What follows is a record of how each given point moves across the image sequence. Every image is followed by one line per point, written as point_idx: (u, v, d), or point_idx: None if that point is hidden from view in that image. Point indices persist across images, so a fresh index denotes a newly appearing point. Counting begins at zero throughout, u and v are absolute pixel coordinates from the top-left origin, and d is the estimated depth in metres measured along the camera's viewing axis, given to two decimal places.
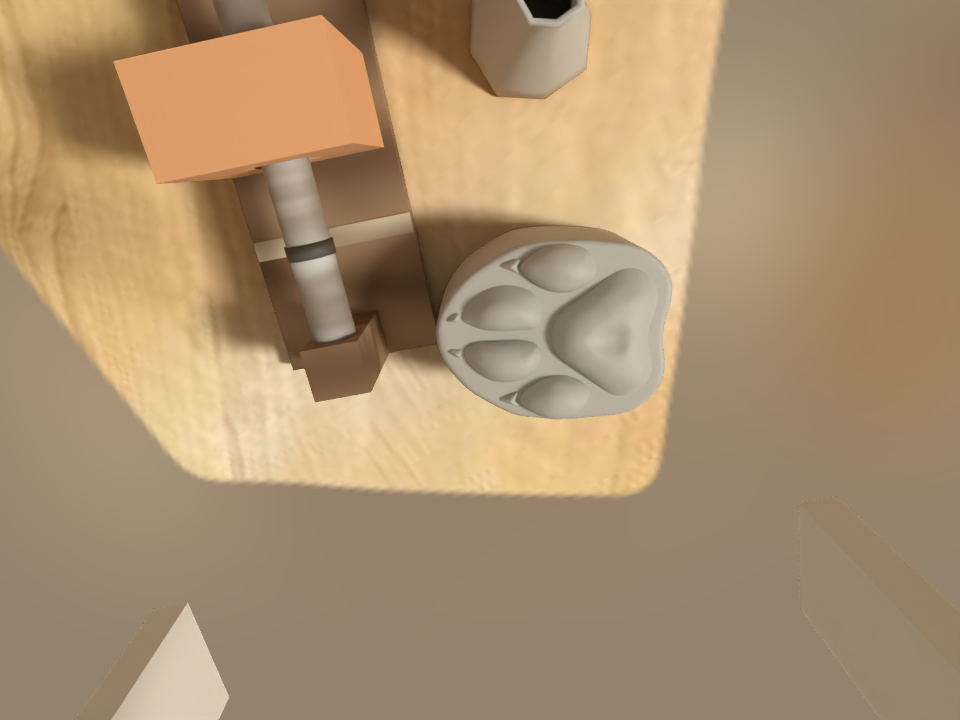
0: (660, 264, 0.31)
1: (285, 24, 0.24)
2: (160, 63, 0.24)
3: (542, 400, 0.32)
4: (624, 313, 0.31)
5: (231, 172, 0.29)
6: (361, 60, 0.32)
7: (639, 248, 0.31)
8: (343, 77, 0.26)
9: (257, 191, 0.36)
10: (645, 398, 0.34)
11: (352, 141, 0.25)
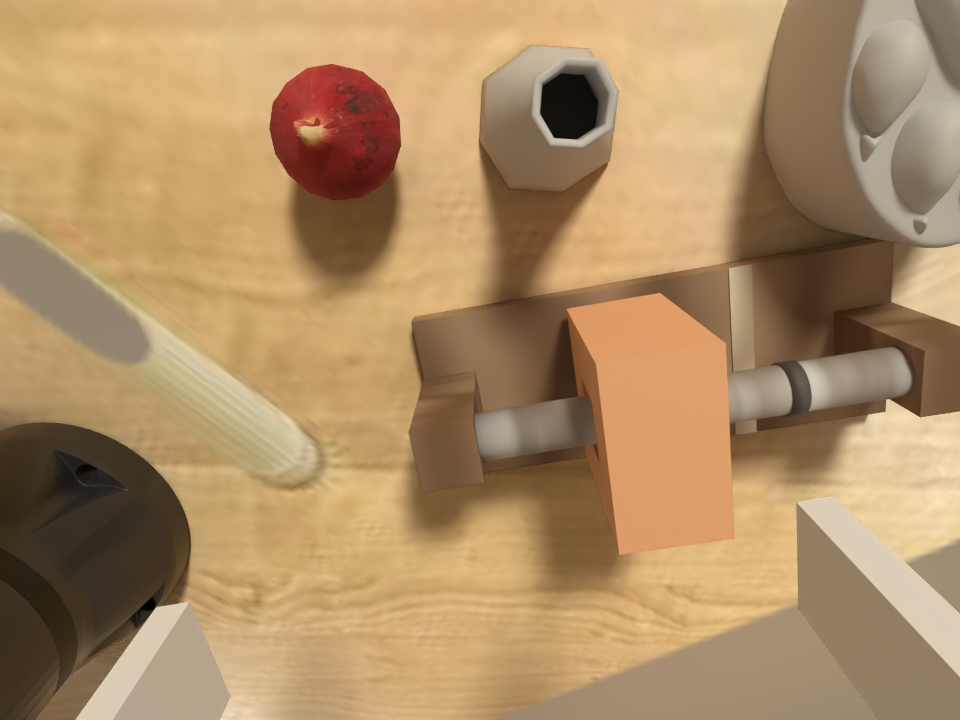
0: None
1: (601, 400, 0.23)
2: (625, 516, 0.25)
3: None
4: None
5: None
6: (578, 311, 0.30)
7: None
8: (642, 343, 0.24)
9: None
10: None
11: (723, 343, 0.23)
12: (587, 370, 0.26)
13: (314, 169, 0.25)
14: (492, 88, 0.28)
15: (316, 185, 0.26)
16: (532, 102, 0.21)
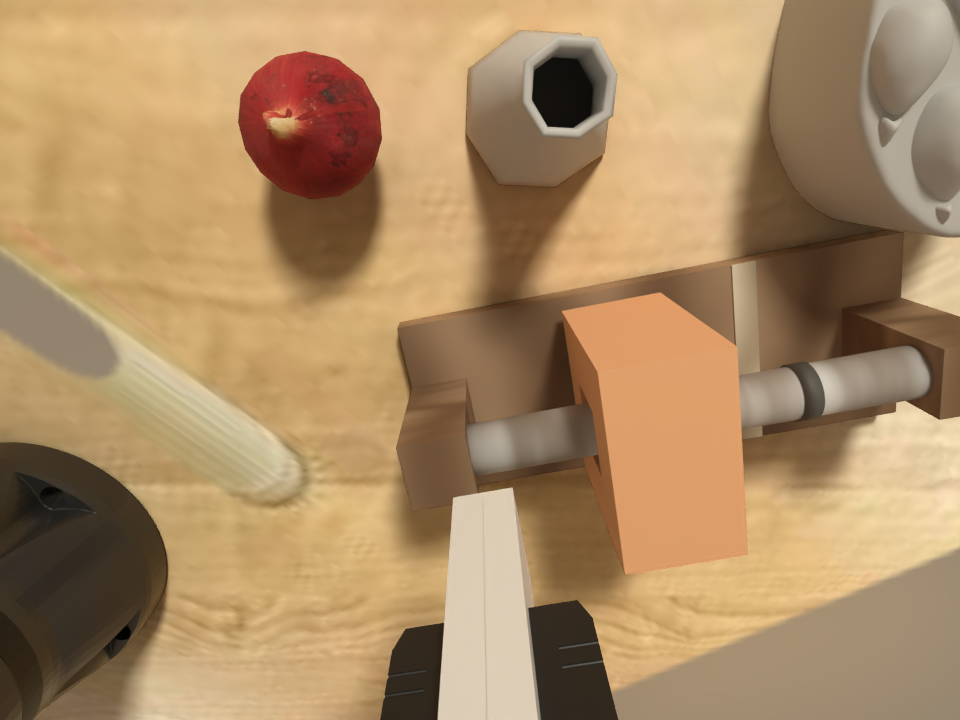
0: None
1: (604, 410, 0.22)
2: (631, 534, 0.23)
3: None
4: None
5: None
6: (575, 313, 0.29)
7: None
8: (646, 348, 0.22)
9: None
10: None
11: (734, 347, 0.21)
12: (587, 377, 0.24)
13: (287, 165, 0.23)
14: (479, 77, 0.26)
15: (290, 183, 0.24)
16: (523, 87, 0.19)
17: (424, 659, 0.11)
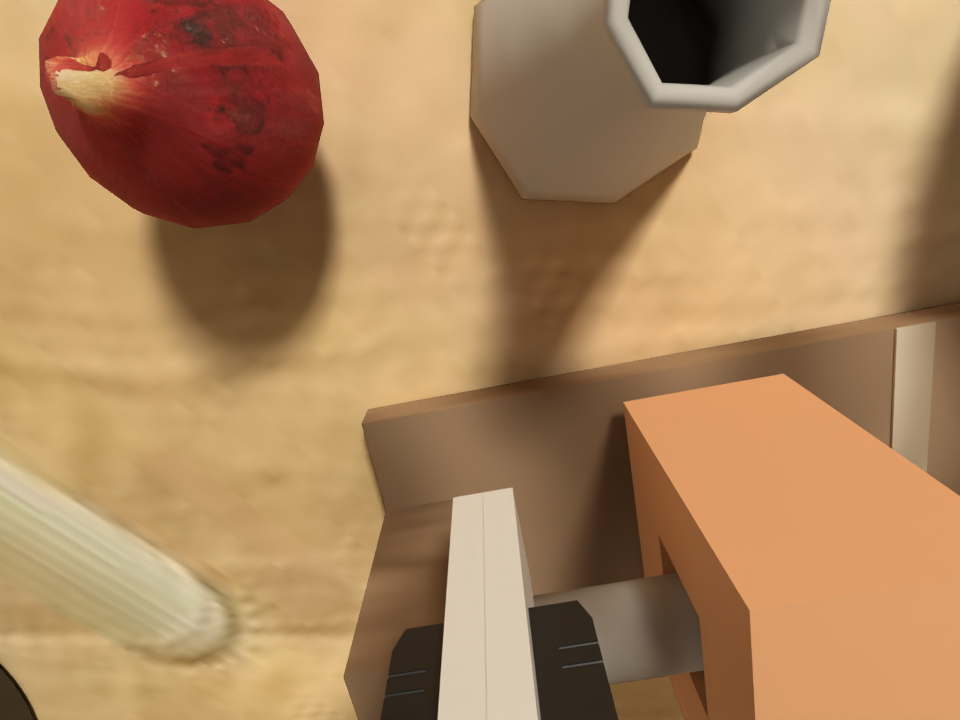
0: None
1: (755, 677, 0.10)
2: None
3: None
4: None
5: None
6: (648, 411, 0.17)
7: None
8: (828, 535, 0.11)
9: None
10: None
11: None
12: (692, 560, 0.13)
13: (126, 170, 0.12)
14: (492, 16, 0.15)
15: (144, 203, 0.13)
16: None
17: (424, 659, 0.11)
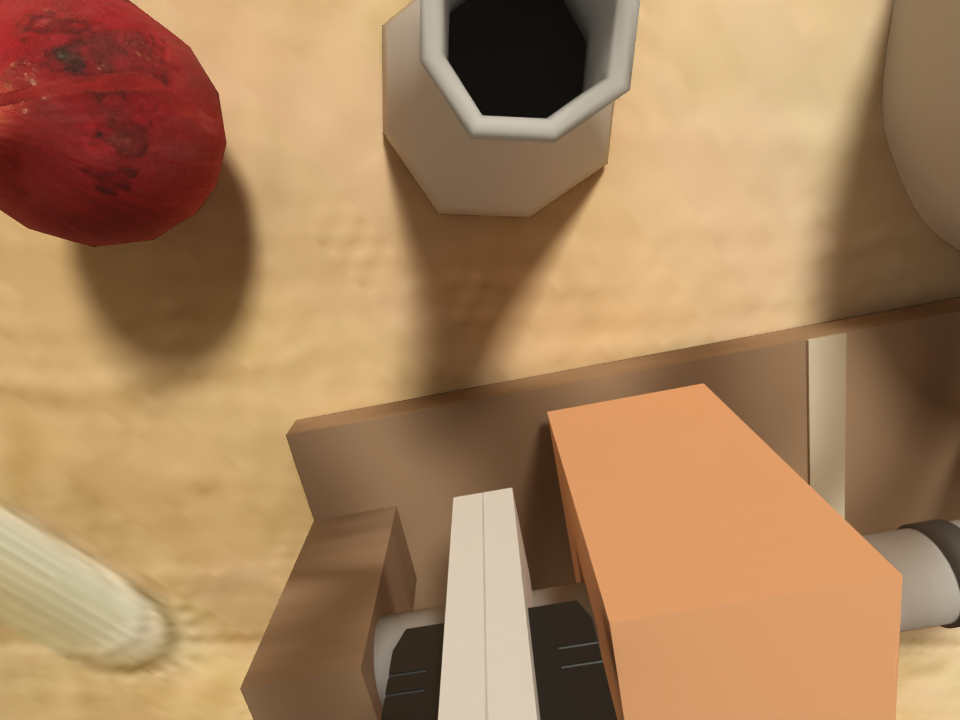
0: None
1: (622, 688, 0.11)
2: None
3: None
4: None
5: None
6: (568, 422, 0.18)
7: None
8: (702, 547, 0.11)
9: None
10: None
11: (896, 575, 0.10)
12: (587, 571, 0.13)
13: (7, 193, 0.12)
14: (394, 37, 0.16)
15: (35, 223, 0.13)
16: (421, 23, 0.08)
17: (424, 659, 0.11)
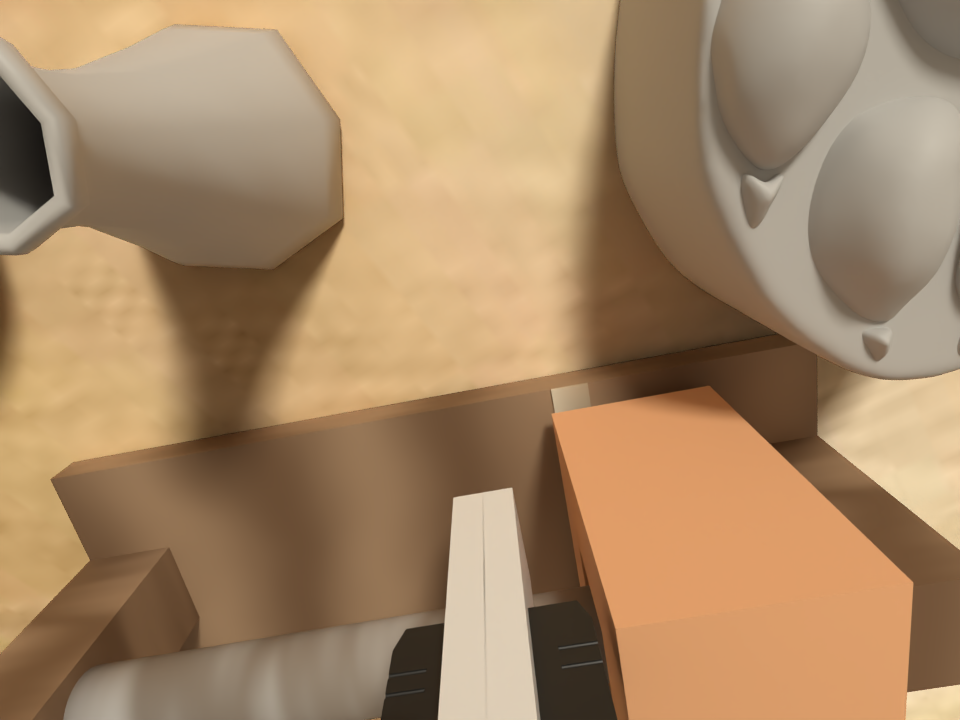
0: None
1: (627, 694, 0.11)
2: None
3: None
4: None
5: None
6: (572, 424, 0.18)
7: None
8: (709, 552, 0.11)
9: None
10: None
11: (907, 582, 0.10)
12: (592, 575, 0.13)
13: None
14: None
15: None
16: None
17: (424, 659, 0.11)
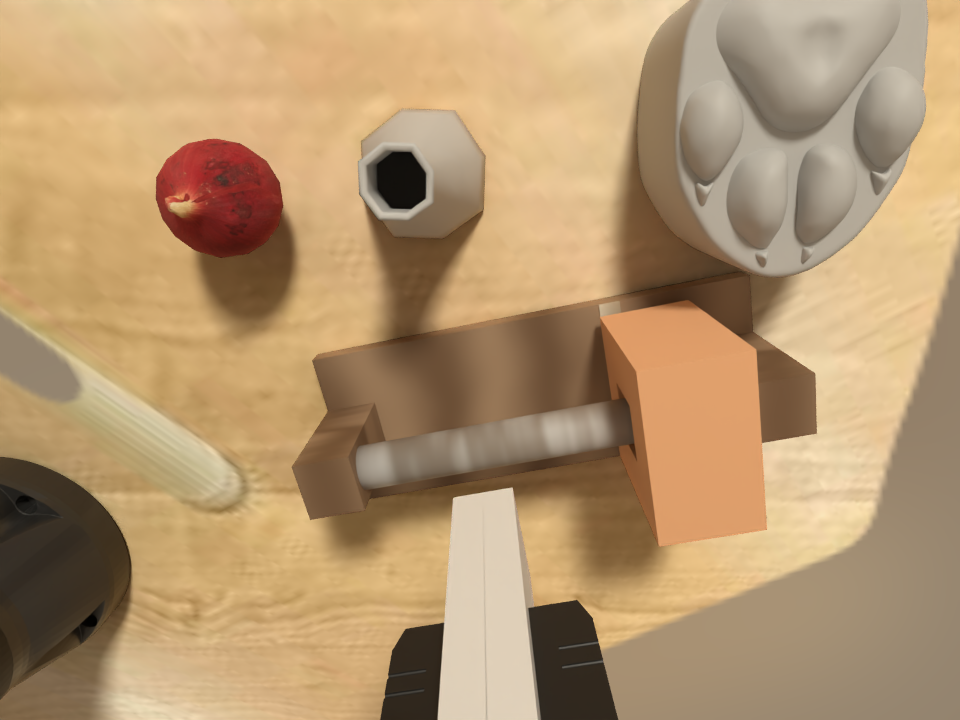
0: None
1: (641, 404, 0.25)
2: (664, 511, 0.27)
3: (894, 138, 0.24)
4: (784, 34, 0.23)
5: None
6: (612, 319, 0.32)
7: (690, 22, 0.24)
8: (677, 350, 0.26)
9: None
10: None
11: (754, 349, 0.24)
12: (624, 376, 0.28)
13: (193, 235, 0.28)
14: (365, 151, 0.31)
15: (199, 248, 0.29)
16: (359, 182, 0.24)
17: (424, 659, 0.11)
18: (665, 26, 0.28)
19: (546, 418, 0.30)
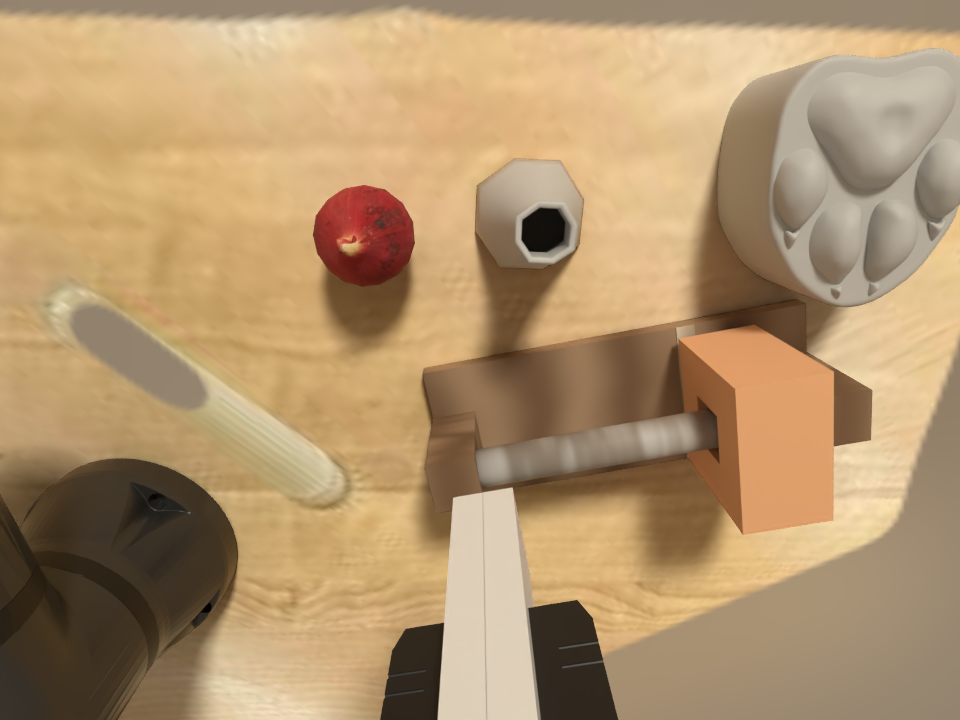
0: (807, 74, 0.29)
1: (737, 415, 0.31)
2: (749, 504, 0.32)
3: (950, 197, 0.30)
4: (866, 115, 0.28)
5: None
6: (691, 341, 0.38)
7: (786, 102, 0.29)
8: (764, 371, 0.31)
9: None
10: None
11: (832, 372, 0.30)
12: (714, 391, 0.33)
13: (350, 269, 0.33)
14: (485, 195, 0.36)
15: (350, 279, 0.34)
16: (515, 233, 0.29)
17: (424, 659, 0.11)
18: (750, 95, 0.34)
19: (641, 426, 0.35)
